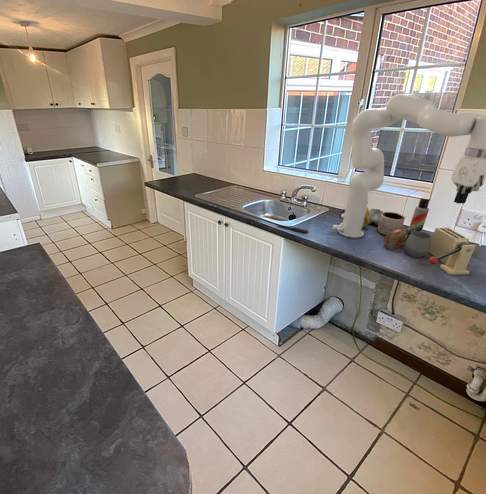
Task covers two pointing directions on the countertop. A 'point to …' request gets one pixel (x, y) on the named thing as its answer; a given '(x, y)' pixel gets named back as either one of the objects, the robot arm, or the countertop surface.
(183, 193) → the countertop surface
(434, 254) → the toaster
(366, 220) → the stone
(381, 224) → the planter
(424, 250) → the cup
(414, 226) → the spray bottle
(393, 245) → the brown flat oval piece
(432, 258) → the red knob lever
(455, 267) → the lever bracket
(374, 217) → the fossil
